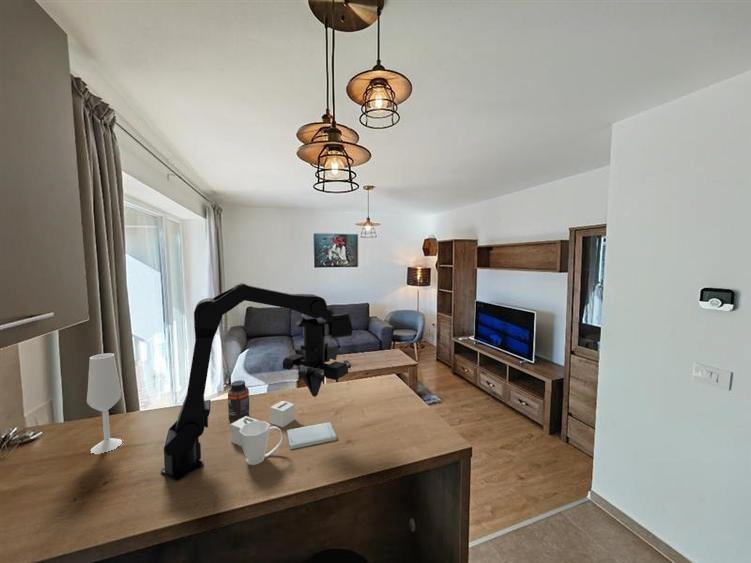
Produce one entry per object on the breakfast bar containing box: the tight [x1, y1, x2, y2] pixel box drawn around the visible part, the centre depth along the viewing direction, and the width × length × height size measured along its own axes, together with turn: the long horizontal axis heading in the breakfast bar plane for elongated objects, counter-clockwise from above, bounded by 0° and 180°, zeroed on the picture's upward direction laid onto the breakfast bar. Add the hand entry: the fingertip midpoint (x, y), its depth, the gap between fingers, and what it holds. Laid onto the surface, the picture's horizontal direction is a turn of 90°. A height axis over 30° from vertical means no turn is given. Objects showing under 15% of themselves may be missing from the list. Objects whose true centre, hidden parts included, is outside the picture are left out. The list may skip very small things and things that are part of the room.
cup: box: [239, 420, 284, 466], centre depth 77 cm, size 7×10×8 cm
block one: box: [269, 400, 296, 428], centre depth 95 cm, size 5×5×5 cm
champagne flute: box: [86, 352, 123, 455], centre depth 81 cm, size 7×7×24 cm
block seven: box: [230, 416, 260, 447], centre depth 85 cm, size 5×5×5 cm
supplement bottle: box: [227, 379, 251, 423], centre depth 96 cm, size 6×6×11 cm
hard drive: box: [286, 421, 338, 450], centre depth 87 cm, size 2×8×12 cm
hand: (315, 396), depth 87 cm, fingers closed
